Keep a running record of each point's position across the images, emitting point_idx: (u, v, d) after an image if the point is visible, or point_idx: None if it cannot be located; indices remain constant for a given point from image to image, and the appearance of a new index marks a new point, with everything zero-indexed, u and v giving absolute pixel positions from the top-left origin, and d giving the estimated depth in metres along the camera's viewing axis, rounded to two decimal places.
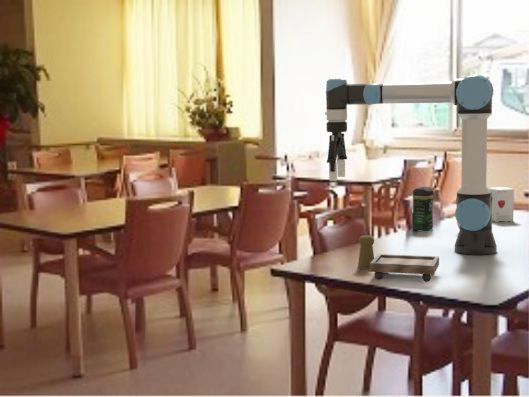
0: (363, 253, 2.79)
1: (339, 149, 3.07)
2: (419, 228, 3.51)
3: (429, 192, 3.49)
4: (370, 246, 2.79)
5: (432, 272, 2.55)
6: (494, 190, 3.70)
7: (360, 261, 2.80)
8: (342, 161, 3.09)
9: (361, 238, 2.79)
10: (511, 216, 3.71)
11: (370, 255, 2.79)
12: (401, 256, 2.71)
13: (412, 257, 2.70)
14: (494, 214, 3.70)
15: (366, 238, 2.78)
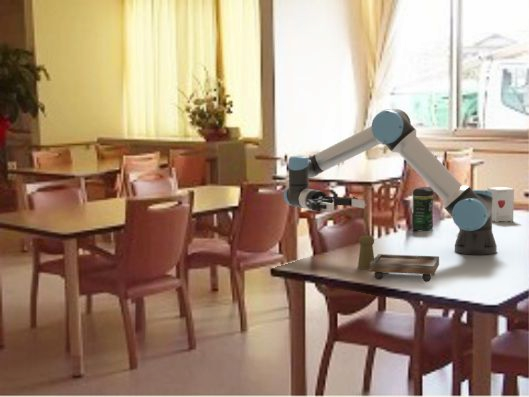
0: (363, 253, 2.79)
1: (339, 202, 2.98)
2: (419, 228, 3.51)
3: (429, 192, 3.49)
4: (370, 246, 2.79)
5: (432, 272, 2.55)
6: (494, 190, 3.70)
7: (360, 261, 2.80)
8: (352, 201, 2.95)
9: (361, 238, 2.79)
10: (511, 216, 3.71)
11: (370, 255, 2.79)
12: (401, 256, 2.71)
13: (412, 257, 2.70)
14: (494, 214, 3.70)
15: (366, 238, 2.78)
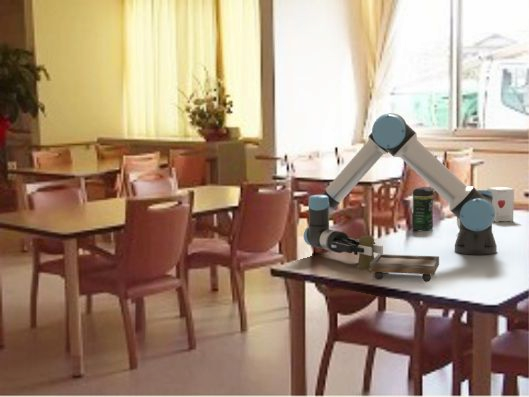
0: None
1: (358, 245, 2.87)
2: (419, 228, 3.51)
3: (429, 192, 3.49)
4: (370, 246, 2.79)
5: (432, 272, 2.55)
6: (494, 190, 3.70)
7: (360, 261, 2.80)
8: None
9: (361, 238, 2.79)
10: (511, 216, 3.71)
11: None
12: (401, 256, 2.71)
13: (412, 257, 2.70)
14: None
15: (366, 238, 2.78)
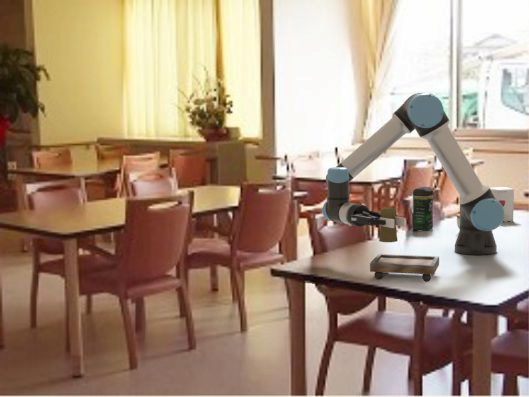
0: None
1: (380, 218, 2.74)
2: (419, 228, 3.51)
3: (429, 192, 3.49)
4: (392, 218, 2.66)
5: (432, 272, 2.55)
6: (494, 190, 3.70)
7: (381, 234, 2.67)
8: None
9: (383, 210, 2.66)
10: (511, 216, 3.71)
11: (392, 228, 2.66)
12: (401, 256, 2.71)
13: (412, 257, 2.70)
14: None
15: (388, 210, 2.65)
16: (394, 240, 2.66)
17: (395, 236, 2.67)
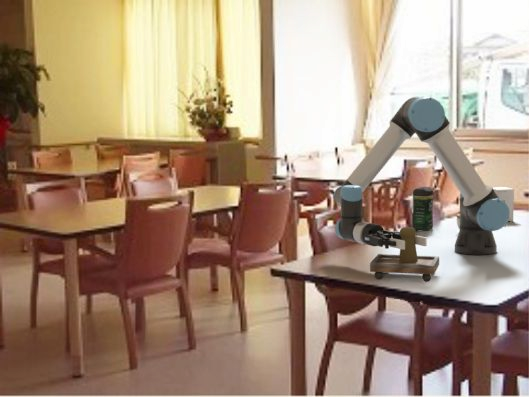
0: (405, 246, 2.63)
1: (397, 237, 2.71)
2: (419, 228, 3.51)
3: (429, 192, 3.49)
4: (412, 238, 2.63)
5: (433, 272, 2.55)
6: (494, 190, 3.70)
7: (402, 254, 2.64)
8: None
9: (402, 230, 2.64)
10: (511, 216, 3.71)
11: (412, 248, 2.63)
12: None
13: None
14: None
15: (408, 230, 2.63)
16: (414, 260, 2.64)
17: (415, 256, 2.64)
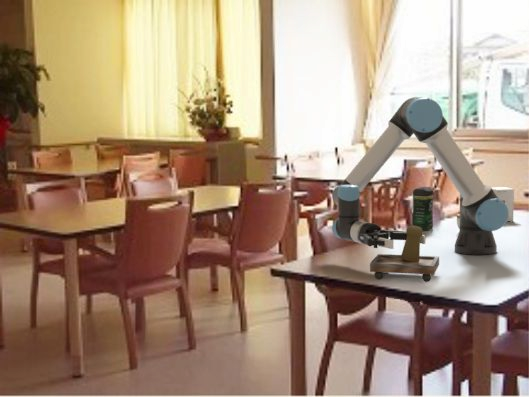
0: (409, 244, 2.64)
1: (396, 236, 2.73)
2: None
3: (429, 192, 3.49)
4: (417, 238, 2.64)
5: (432, 272, 2.55)
6: (494, 190, 3.70)
7: (404, 252, 2.65)
8: None
9: (409, 228, 2.63)
10: (511, 216, 3.71)
11: (416, 248, 2.64)
12: None
13: None
14: None
15: (415, 230, 2.62)
16: (416, 260, 2.65)
17: (417, 256, 2.65)
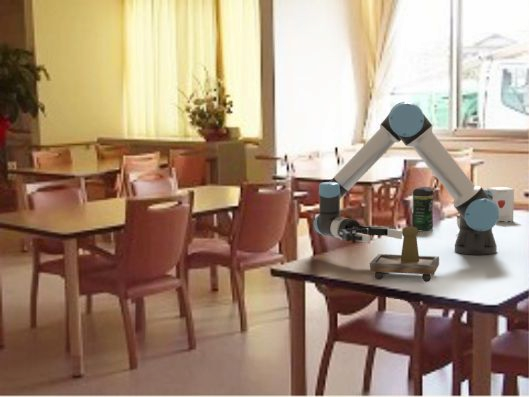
0: (407, 245, 2.65)
1: (374, 231, 2.83)
2: (419, 228, 3.51)
3: (429, 192, 3.49)
4: (414, 238, 2.65)
5: (432, 272, 2.55)
6: (494, 190, 3.70)
7: (403, 254, 2.66)
8: (388, 231, 2.80)
9: (404, 229, 2.65)
10: (511, 216, 3.71)
11: (413, 247, 2.64)
12: None
13: None
14: None
15: (410, 229, 2.64)
16: (416, 260, 2.65)
17: (417, 256, 2.65)
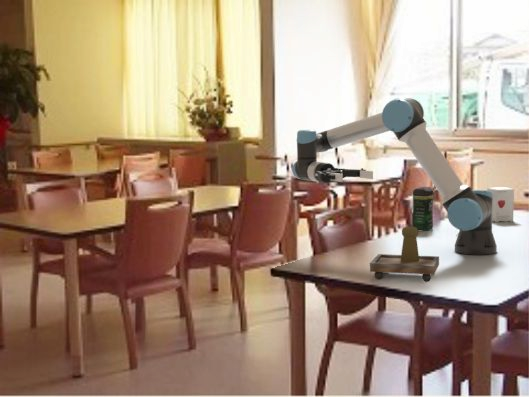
0: (406, 245, 2.65)
1: (348, 173, 3.02)
2: (419, 228, 3.51)
3: (429, 192, 3.49)
4: (414, 238, 2.65)
5: (432, 272, 2.55)
6: (494, 190, 3.70)
7: (403, 254, 2.66)
8: (361, 172, 2.99)
9: (404, 229, 2.65)
10: (511, 216, 3.71)
11: (413, 247, 2.64)
12: None
13: None
14: (494, 214, 3.70)
15: (410, 229, 2.64)
16: (416, 260, 2.65)
17: (417, 256, 2.65)
